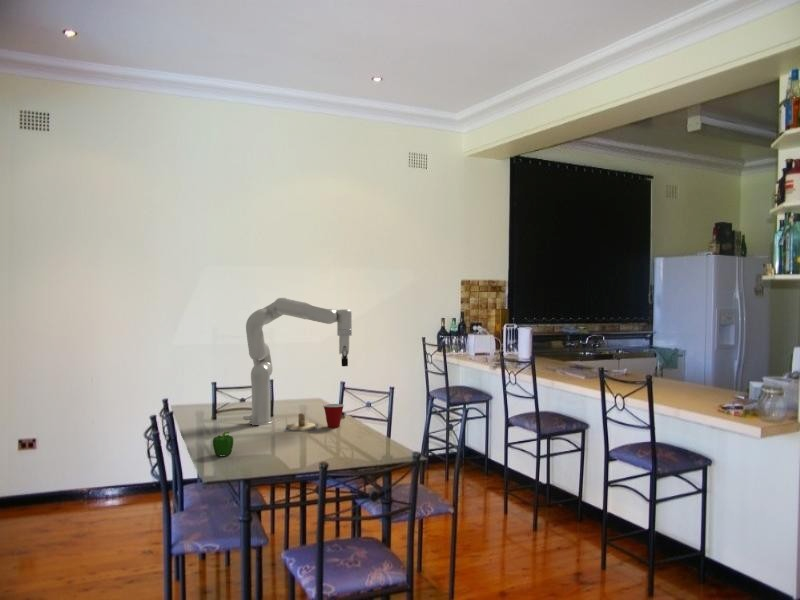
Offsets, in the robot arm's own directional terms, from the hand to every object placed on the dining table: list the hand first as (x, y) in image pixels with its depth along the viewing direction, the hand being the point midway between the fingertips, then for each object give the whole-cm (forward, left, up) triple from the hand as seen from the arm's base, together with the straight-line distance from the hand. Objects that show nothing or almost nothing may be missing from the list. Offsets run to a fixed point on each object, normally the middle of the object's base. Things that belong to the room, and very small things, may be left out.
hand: (344, 365), depth 320 cm
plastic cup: (-6, -13, -30) cm, 34 cm away
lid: (-22, -14, -30) cm, 39 cm away
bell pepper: (-52, -59, -30) cm, 84 cm away
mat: (-22, -14, -30) cm, 40 cm away
